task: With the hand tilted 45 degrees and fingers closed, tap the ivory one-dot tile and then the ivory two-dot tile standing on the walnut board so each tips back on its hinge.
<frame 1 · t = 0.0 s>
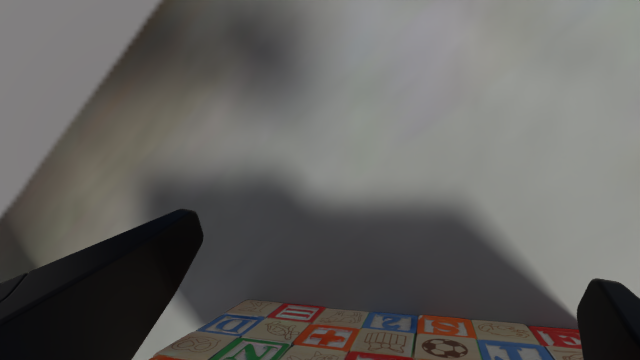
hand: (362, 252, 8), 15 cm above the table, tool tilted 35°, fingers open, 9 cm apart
stack of blocks: (395, 358, 23), on the table
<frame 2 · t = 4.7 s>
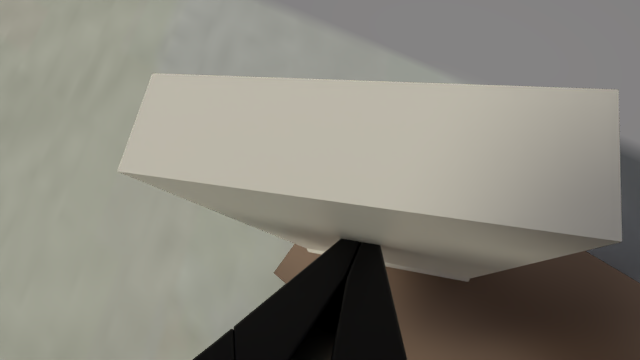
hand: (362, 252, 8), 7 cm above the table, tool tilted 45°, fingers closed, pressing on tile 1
tile 1: (375, 214, 9), point 6 cm above the table, hinge at 3.2°, touching gripper
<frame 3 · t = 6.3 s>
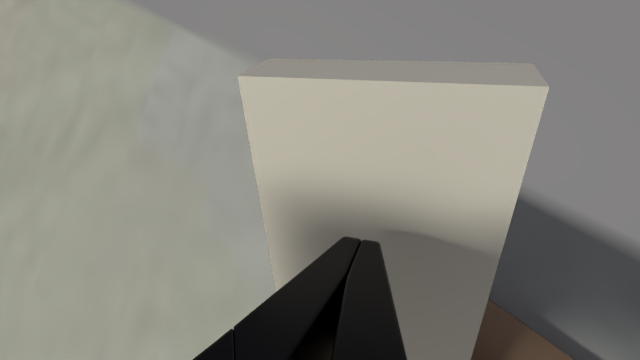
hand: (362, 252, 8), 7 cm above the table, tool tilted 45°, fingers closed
tile 1: (375, 254, 10), point 5 cm above the table, hinge at 45.2°
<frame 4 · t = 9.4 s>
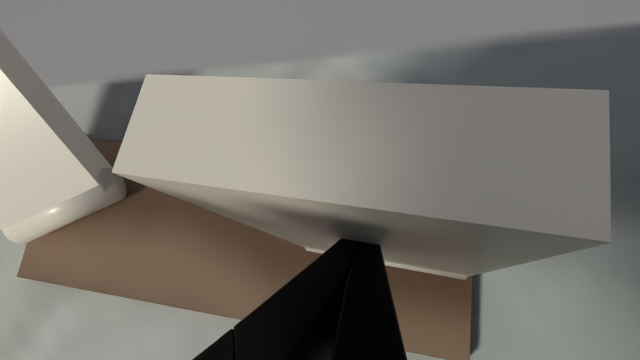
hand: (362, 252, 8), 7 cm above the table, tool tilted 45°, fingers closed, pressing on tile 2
tile 2: (372, 213, 9), point 6 cm above the table, hinge at 2.8°, touching gripper
tile board: (221, 225, 17), on the table
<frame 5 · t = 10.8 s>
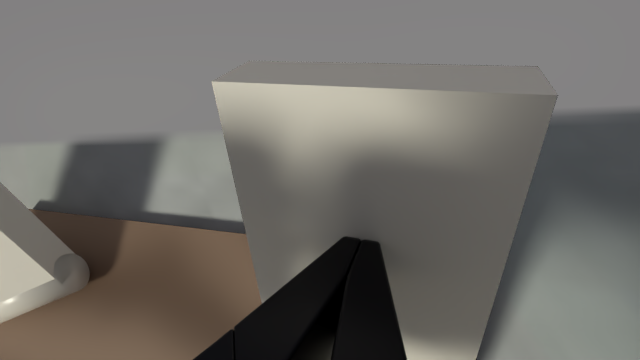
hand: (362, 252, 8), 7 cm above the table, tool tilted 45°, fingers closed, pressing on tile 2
tile 2: (367, 269, 10), point 5 cm above the table, hinge at 45.3°, touching gripper
tile board: (191, 318, 16), on the table
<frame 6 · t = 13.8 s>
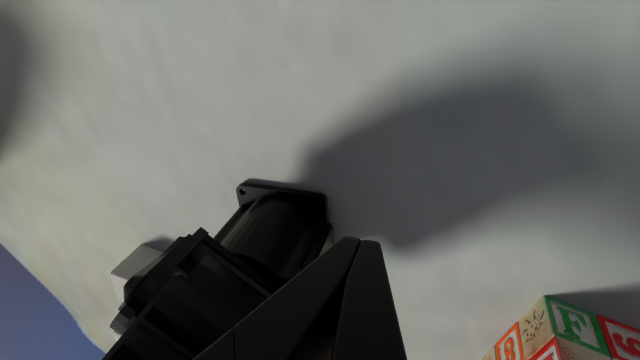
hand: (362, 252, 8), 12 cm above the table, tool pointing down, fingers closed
puzzle cube: (202, 302, 35), on the table
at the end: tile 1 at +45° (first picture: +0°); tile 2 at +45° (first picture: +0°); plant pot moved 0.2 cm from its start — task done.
